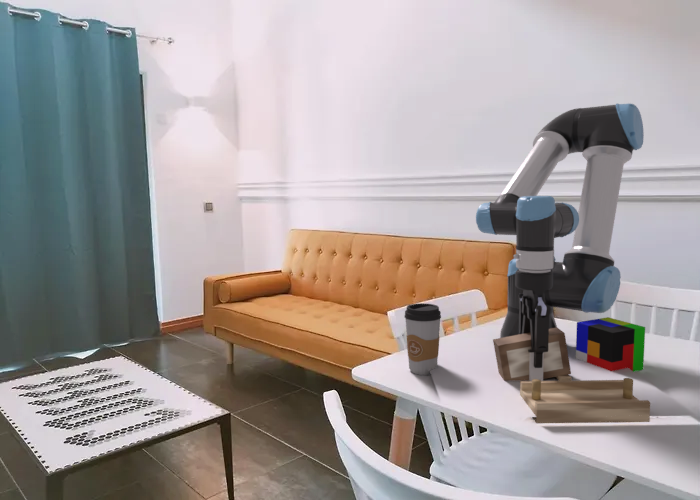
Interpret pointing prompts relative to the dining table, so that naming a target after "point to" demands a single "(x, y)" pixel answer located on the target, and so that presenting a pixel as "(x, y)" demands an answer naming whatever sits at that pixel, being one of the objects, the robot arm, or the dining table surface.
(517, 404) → the dining table surface
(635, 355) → the puzzle toy
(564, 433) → the dining table surface
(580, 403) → the ledge
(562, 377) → the block
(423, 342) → the coffee cup
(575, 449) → the dining table surface
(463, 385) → the dining table surface
